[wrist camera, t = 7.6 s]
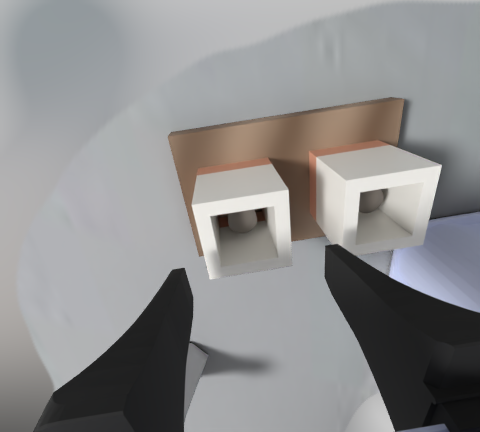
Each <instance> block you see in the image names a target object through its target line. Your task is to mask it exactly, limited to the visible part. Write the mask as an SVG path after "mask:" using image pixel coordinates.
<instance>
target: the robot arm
mask: <svg viewBox="0 0 480 432" xmlns="http://www.w3.org/2000/svg"><path fill="white" fill-rule="evenodd" d="M325 279H326V281H327V284H328V286H329V289H330V291H331V294H332V296H333V297H334V299H335V301H336V303H337V304H338V306H339V308H340V310H341V311H342V313H343V315H344V317H345V318H346V320H347V322H348V324H349V325H350V327H351V329H352V331H353V332H354V334H355V336H356V338H357V340H358V342H359V344H360V346H361V349H362V351H363V353H364V355H365V358H366V360H367V362H368V364H369V367H370V369H371V371H372V374H373V376H374V378H375V381H376V383H377V386H378V388H379V391H380V393H381V396H382V398H383V401H384V403H385V406H386V408H387V411H388V413H389V416H390V419H391V421H392V424H393V427H394V429H395V432H480V212H475V213H469V214H463V215H457V216H450V217H444V218H438V219H432V220H429V222H428V226H427V230H426V235H425V239H424V243H423V245H419V246H413V247H407V248H401V249H395V250H393V256H392V262H391V267H390V273H389V276H387V275H386V274H384V273H382V272H380V271H379V270H377V269H375V268H374V267H372V266H370V265H369V264H367V263H366V262H364V261H362V260H361V259H359V258H358V257H356V256H355V255H353V254H352V253H350V252H349V251H348V250H346V249H345V248H343V247H342V246H340V245H338V244H333V245H327V246H325ZM192 320H193V295H192V291H191V288H190V285H189V281H188V278H187V275H186V271H185V268H180V269H174V270H172V271H171V272H170V274H169V275H168V277H167V279H166V280H165V282H164V283H163V285H162V286H161V288H160V289H159V291H158V292H157V294H156V295H155V296H154V298H153V299H152V301H151V302H150V303H149V305H148V306H147V307H146V309H145V310H144V311H143V313H142V314H141V315H140V316H139V318H138V319H137V320H136V321H135V322H134V324H133V325H132V326H131V327H130V328H129V329H128V330H127V331H126V332H125V333H124V334H123V335H122V336H121V337H120V338H119V339H118V340H117V341H116V342H115V343H114V344H113V345H112V346H111V347H110V348H109V349H108V350H107V351H106V352H105V353H104V354H102V355H101V356H100V357H99V358H98V359H97V360H96V361H94V362H93V363H92V364H91V365H89V366H88V367H87V368H86V369H85V370H83V371H82V372H81V373H80V374H78V375H77V376H76V377H74V378H73V379H72V380H70V381H69V382H67V383H66V384H65V385H63V386H62V387H61V388H59V389H58V390H57V391H55V392H54V393H53V395H52V396H51V398H50V400H49V402H48V404H47V405H46V407H45V409H44V411H43V413H42V415H41V417H40V419H39V421H38V423H37V425H36V427H35V429H34V431H33V432H184V400H185V376H186V363H187V355H188V348H189V341H190V334H191V327H192Z"/></svg>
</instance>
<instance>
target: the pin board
mask: <svg viewBox="0 0 480 432" xmlns="http://www.w3.org/2000/svg"><path fill="white" fill-rule="evenodd" d="M403 105H404V99H401V98H392V97H390V98H384V99H378V100H371V101H365V102H359V103H352V104H346V105H340V106H334V107H327V108H321V109H315V110H308V111H302V112H296V113H290V114H283V115H277V116H271V117H264V118H258V119H252V120H246V121H239V122H233V123H227V124H220V125H214V126H208V127H201V128H195V129H189V130H183V131H176V132H171V133H170V134H169V136H168V140H169V144H170V147H171V151H172V155H173V159H174V163H175V166H176V170H177V174H178V178H179V182H180V185H181V189H182V193H183V197H184V200H185V204H186V208H187V212H188V216H189V219H190V223H191V227H192V231H193V235H194V238H195V242H196V246H197V250H198V253H199V257H200V256H204V253H203V249H202V245H201V241H200V237H199V233H198V229H197V225H196V221H195V217H194V213H193V209H192V200H193V194H194V189H195V183H196V178H197V172H198V168H205V167H211V166H217V165H224V164H230V163H236V162H243V161H249V160H256V159H262V158H268V159H269V160H270V162H271V163H272V165H273V166H274V168H275V170H276V171H277V173H278V174H279V176H280V177H281V179H282V180H283V182H284V183H285V185H286V186H287V188H288V190H289V208H290V228H291V242H292V241H298V240H304V239H310V238H316V237H322V236H326V235H325V234H324V232H323V231H322V229H321V228H320V227H319V225H318V224H317V222H316V221H315V219H314V218H313V216H312V215H311V214H310V183H309V151H313V150H319V149H326V148H332V147H338V146H344V145H351V144H357V143H363V142H369V141H376V140H379V141H382V142H384V143H387V144H389V145H392V146H394V147H397V145H398V139H399V132H400V125H401V118H402V112H403ZM383 197H384V196H383V192H382V191H381V190H380V189H378V190H372V191H366V192H360V201H359V212H361V213H370V212H373V211H375V210H376V209H377V208H378V207H379V206H380V205H381V204H382V202H383ZM261 211H262V208H259V209H253V210H246V211H240V212H234V213H227V214H221V215H219V218H223V217H228V224H229V226H230V228H231V229H232V230H233V231H235V232H237V233H247V232H250V231H251V230H252V229H254V227H255V226H256V224H257V216H256V213H255V212H261Z"/></svg>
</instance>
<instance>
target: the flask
mask: <svg viewBox="0 0 480 432" xmlns="http://www.w3.org/2000/svg"><path fill="white" fill-rule="evenodd" d="M207 359H208V355H207V354H206V353H204V352H203V351H202V350H200V349H199V348H198V347H196V346H195V345H194V344H192V343H189V348H188V355H187V363H186V376H185V400H184V422H185V417H186V414H187V411H188V409H189V406H190V403H191V400H192V398H193V395H194V392H195V389H196V387H197V384H198V382H199V379H200V377H201V374H202V372H203V369H204V367H205V364H206V361H207Z"/></svg>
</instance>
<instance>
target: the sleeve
mask: <svg viewBox="0 0 480 432" xmlns="http://www.w3.org/2000/svg"><path fill="white" fill-rule="evenodd" d="M259 208H262V211H261V212H255V213H256V216H257V224H256V226H255V227H254V229H252V230H251V231H250V232H247V233H237V232H235V231H233V230H232V229H231V228H230V226H229V224H228V217H223V218H219V215H221V214H227V213H234V212H240V211H246V210H253V209H259ZM192 209H193V213H194V217H195V221H196V225H197V229H198V233H199V237H200V241H201V245H202V249H203V253H204V257H205V261H206V265H207V269H208V273H209V277H210V279H216V278H222V277H228V276H234V275H240V274H246V273H253V272H259V271H265V270H271V269H277V268H284V267H290V266H292V249H291V228H290V208H289V190H288V188H287V186H286V185H285V183H284V182H283V180H282V179H281V177H280V176H279V174H278V173H277V171H276V170H275V168H274V166H273V165H272V163H271V162H270V160H269V159H268V158H262V159H256V160H249V161H243V162H236V163H230V164H224V165H217V166H211V167H205V168H198V172H197V178H196V183H195V189H194V194H193V200H192Z"/></svg>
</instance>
